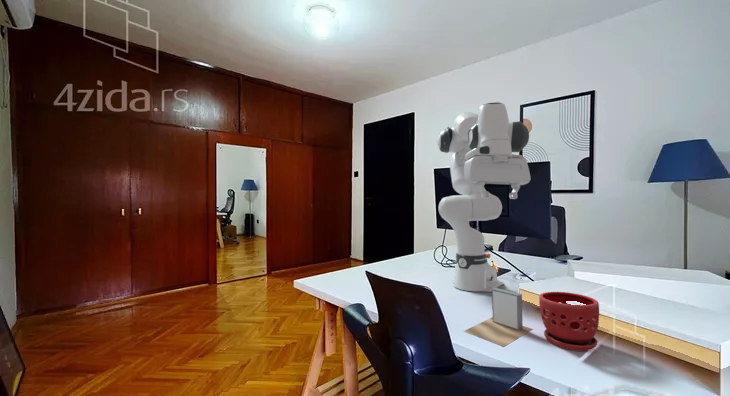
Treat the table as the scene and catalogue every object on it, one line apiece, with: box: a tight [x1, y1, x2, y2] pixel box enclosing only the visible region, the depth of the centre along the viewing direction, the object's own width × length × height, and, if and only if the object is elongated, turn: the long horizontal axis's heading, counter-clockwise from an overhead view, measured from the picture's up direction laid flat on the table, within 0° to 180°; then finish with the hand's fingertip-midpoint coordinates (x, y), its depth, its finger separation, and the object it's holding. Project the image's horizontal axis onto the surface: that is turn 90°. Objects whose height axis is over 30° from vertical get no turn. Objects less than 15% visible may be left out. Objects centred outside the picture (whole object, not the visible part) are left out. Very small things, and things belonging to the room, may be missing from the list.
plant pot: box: [538, 291, 600, 352], centre depth 81 cm, size 13×13×12 cm
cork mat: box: [463, 316, 534, 348], centre depth 88 cm, size 16×12×1 cm
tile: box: [491, 287, 524, 331], centre depth 91 cm, size 2×8×10 cm, turn 37°
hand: (499, 198), depth 92 cm, fingers open, 8 cm apart
